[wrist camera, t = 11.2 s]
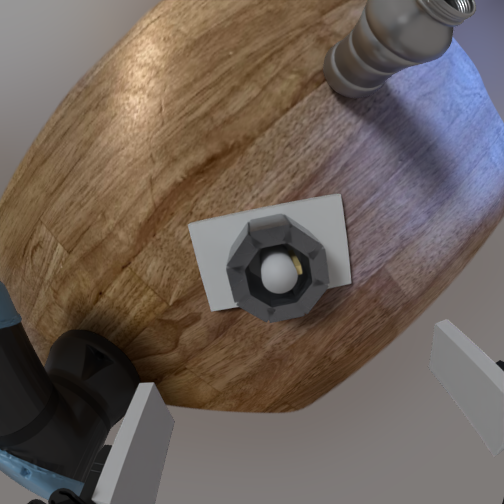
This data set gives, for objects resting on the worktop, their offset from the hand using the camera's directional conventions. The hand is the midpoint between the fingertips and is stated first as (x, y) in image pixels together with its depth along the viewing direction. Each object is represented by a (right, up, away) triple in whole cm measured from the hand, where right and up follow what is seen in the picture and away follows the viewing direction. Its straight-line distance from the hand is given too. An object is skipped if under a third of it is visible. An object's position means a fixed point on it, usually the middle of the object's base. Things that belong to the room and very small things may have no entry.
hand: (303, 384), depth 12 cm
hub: (0, +5, +19) cm, 20 cm away
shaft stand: (0, +6, +20) cm, 21 cm away
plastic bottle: (+8, +25, +15) cm, 30 cm away
